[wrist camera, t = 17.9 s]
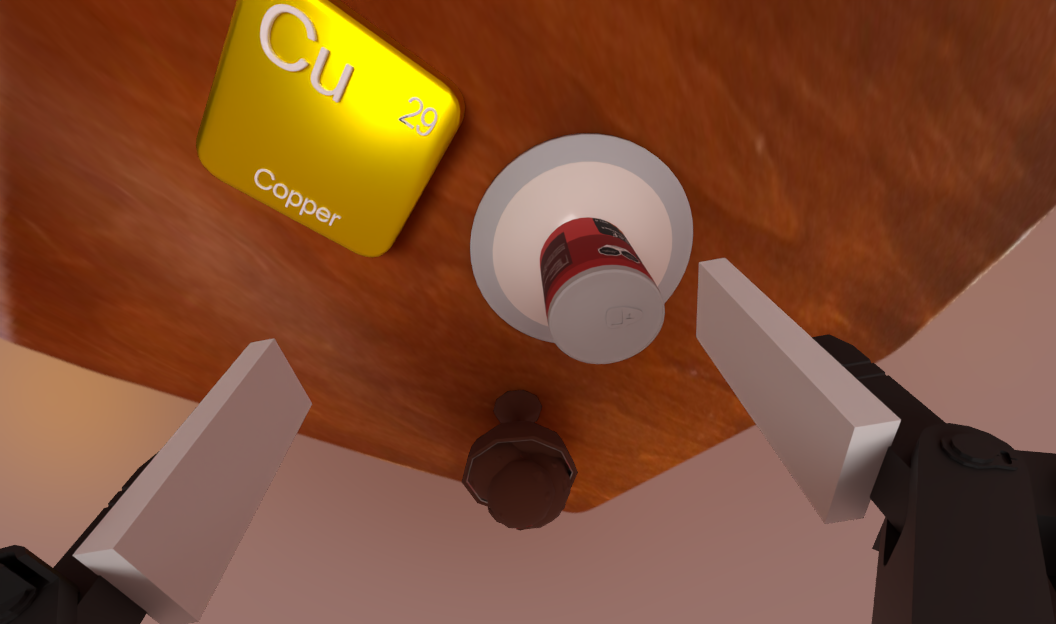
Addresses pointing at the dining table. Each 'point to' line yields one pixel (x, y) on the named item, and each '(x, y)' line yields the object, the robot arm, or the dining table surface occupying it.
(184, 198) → the dining table surface
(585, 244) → the canned food
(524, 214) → the dish
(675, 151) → the dining table surface
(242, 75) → the element tile
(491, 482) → the ice cream bowl
